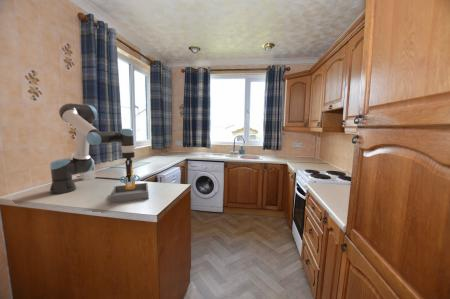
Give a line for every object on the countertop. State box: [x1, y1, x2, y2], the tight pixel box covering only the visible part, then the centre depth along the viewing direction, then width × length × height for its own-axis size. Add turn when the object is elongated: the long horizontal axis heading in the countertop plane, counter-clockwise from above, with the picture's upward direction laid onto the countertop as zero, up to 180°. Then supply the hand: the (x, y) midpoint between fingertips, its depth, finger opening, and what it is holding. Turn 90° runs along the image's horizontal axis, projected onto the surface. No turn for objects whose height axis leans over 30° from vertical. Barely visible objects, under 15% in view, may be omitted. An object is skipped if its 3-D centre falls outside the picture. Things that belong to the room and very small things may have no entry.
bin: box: [109, 182, 150, 205], centre depth 138 cm, size 22×22×5 cm
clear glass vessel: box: [79, 159, 96, 181], centre depth 184 cm, size 10×9×17 cm
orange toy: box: [119, 166, 141, 190], centre depth 137 cm, size 12×10×15 cm
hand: (130, 184), depth 137 cm, fingers closed on orange toy, 11 cm apart
